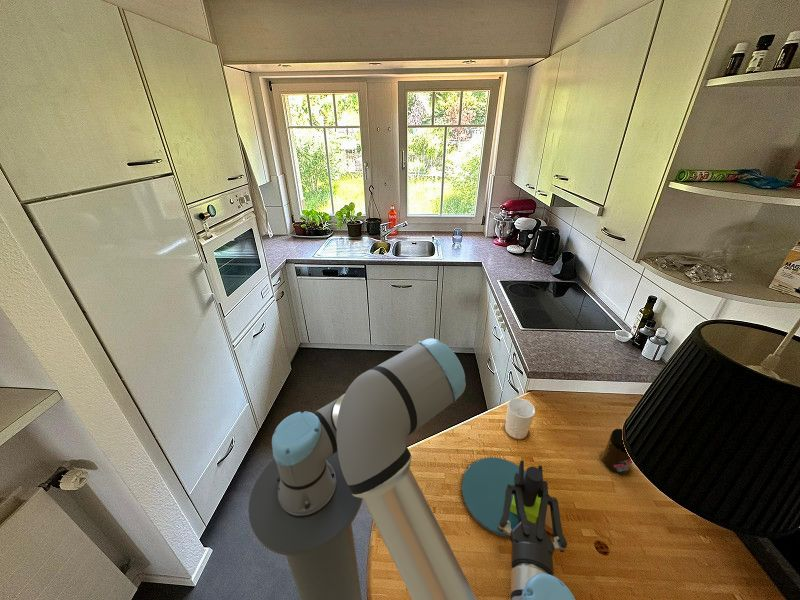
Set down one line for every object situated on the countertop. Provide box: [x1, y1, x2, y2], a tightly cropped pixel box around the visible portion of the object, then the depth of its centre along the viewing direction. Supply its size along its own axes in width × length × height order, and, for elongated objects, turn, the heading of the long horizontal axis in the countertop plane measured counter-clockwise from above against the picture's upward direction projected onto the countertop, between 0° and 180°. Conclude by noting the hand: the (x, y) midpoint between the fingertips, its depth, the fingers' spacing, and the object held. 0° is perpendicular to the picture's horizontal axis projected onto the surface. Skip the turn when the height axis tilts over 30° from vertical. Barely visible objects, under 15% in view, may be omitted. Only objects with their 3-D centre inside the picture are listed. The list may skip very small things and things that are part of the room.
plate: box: [461, 457, 541, 538], centre depth 84 cm, size 20×20×1 cm
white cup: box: [504, 397, 536, 440], centre depth 100 cm, size 8×8×10 cm
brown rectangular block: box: [536, 503, 553, 535], centre depth 78 cm, size 4×5×2 cm
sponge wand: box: [510, 466, 544, 523], centre depth 77 cm, size 6×6×13 cm
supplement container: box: [601, 428, 633, 474], centre depth 90 cm, size 7×7×10 cm
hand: (530, 466), depth 81 cm, fingers closed on sponge wand, 4 cm apart
